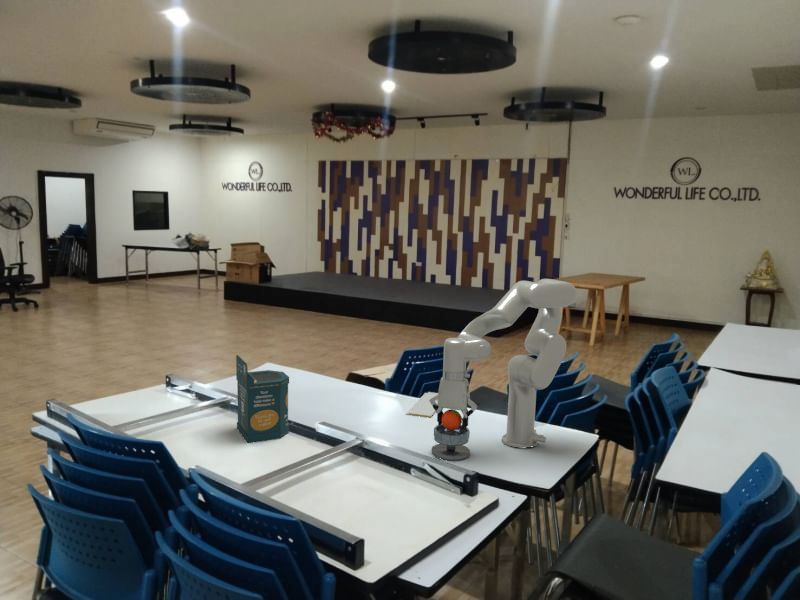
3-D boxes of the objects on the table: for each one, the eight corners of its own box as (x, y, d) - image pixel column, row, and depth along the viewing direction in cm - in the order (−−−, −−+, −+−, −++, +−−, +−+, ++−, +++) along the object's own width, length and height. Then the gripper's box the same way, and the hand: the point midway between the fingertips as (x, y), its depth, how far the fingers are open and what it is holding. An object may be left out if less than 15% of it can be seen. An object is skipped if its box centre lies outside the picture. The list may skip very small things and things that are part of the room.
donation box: (236, 428, 225) (236, 354, 221) (279, 422, 233) (279, 350, 229) (247, 443, 211) (246, 364, 207) (292, 436, 219) (292, 360, 215)
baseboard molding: (401, 415, 246) (430, 419, 243) (402, 408, 246) (431, 412, 242) (422, 394, 276) (448, 397, 272) (422, 388, 275) (448, 391, 272)
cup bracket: (474, 450, 211) (475, 426, 210) (463, 464, 199) (464, 439, 198) (438, 443, 216) (439, 420, 215) (426, 456, 204) (426, 432, 203)
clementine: (468, 430, 206) (469, 410, 205) (455, 436, 201) (456, 415, 200) (449, 424, 211) (449, 404, 210) (436, 429, 206) (437, 409, 205)
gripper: (482, 375, 204) (480, 426, 206) (433, 369, 210) (431, 418, 213) (476, 381, 197) (474, 433, 199) (425, 374, 203) (424, 425, 206)
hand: (452, 425), depth 206 cm, fingers closed on clementine, 7 cm apart
